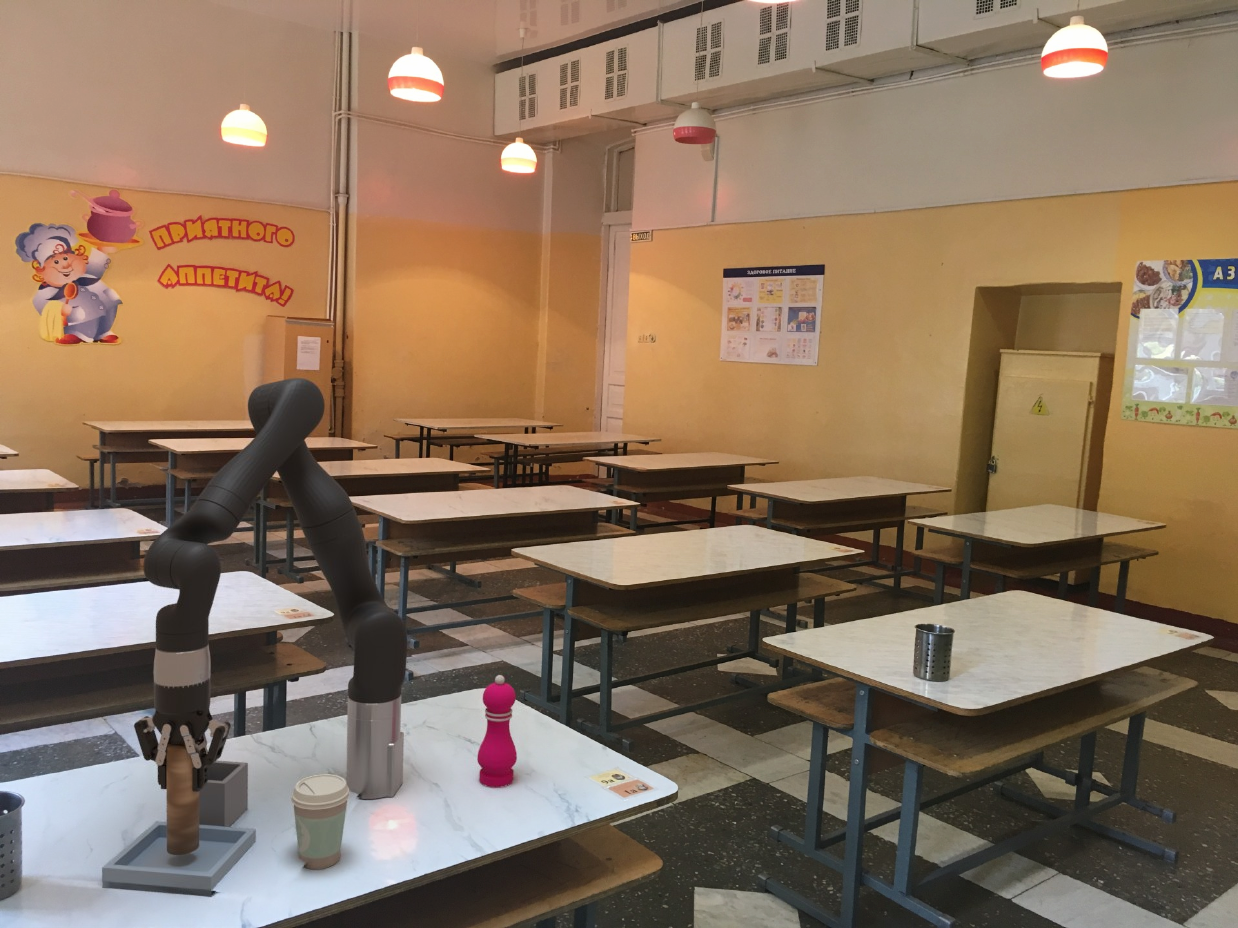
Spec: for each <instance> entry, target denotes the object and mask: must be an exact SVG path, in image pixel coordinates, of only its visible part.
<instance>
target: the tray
mask: <svg viewBox="0 0 1238 928" xmlns="http://www.w3.org/2000/svg"><path fill="white" fill-rule="evenodd" d="M256 834H257V829H256V828H247V827H235V826H230V827H223V826H211V825H199V847H198V849H197V850H195V851H193V852H191V853H188V854H184V855H172V854H169V853H168V852H167V821H158V820H157V821H154V823H153V824H152V825H150V826H149V827H148V828H147V829H145V830H144V831H143V832H142V833H140V835H138V837H136V838H135V839H134V840H133V841H132V842H130V843H129V844H128V845H127V846H125V848H123V849H122V850H121V851H119V853H117V854H116V855H115V856H113V858H112V859H110V860H109V861H108V862H107V863H106V864H104V865H103V866H102V867H101V885H102V887H101V888H103V889H113V890H114V889H115V890H124V891H137V892H138V891H139V892H148V893H160V894H162V893H163V894H171V895H172V894H175V895H187V896H199V897H208V898H212V897H213V896H214V894H215V893H216V892H217V890H213V889H214V888H215V887H216V886H217V885H218V884H219V883H220V881H221V880H222V879H223V878H224V877H225V876H226V875H227V874H228V873H229V872H230V871H231V870H232V868H233V867H234V866H235V865H236V864H237V863H238V862H240V859H241V858H243V856H244V855H245V854H246V853H247V852H248V851H249V850H250V849H251V847H252V846H254V844H255V843H256V842H257V839H256V838H257V836H256Z"/></svg>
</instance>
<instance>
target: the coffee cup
mask: <svg viewBox="0 0 1238 928" xmlns="http://www.w3.org/2000/svg"><path fill="white" fill-rule="evenodd" d="M350 796H351V791H350V790H349V788H348V786H347V783H346V778H344V777H342V776H340V775H336V774H329V773H326V774H325V773H324V774H323V773H321V774H315V775H310V776H307V777H304V778H302V779H300V780H299V781H297V782H296V784H295V785H294V789H293V791H292V793H291V797H290V802H291V804H292V805H293V813H294V820H295V821H294V823H295V830H296V838H297V841H296V842H297V848H298V857H299V860H301V861H302V862H303V863H304V865H303V866H302V867H303V868H306V869H310V870H322V869H326V868H327V869H328V868H329V867H331V866H334V865H335V864H337V863H338V861H339V859H340V856H341V849H342V841H343V834H344V829H345V821H346V820H345V819H346V812H347V806H348V805H347V804H348V800H349V798H350Z"/></svg>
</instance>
